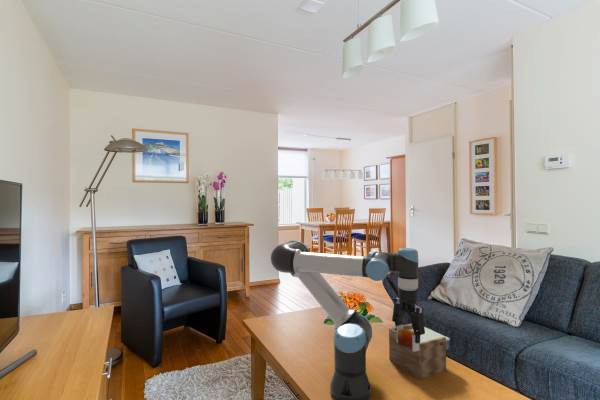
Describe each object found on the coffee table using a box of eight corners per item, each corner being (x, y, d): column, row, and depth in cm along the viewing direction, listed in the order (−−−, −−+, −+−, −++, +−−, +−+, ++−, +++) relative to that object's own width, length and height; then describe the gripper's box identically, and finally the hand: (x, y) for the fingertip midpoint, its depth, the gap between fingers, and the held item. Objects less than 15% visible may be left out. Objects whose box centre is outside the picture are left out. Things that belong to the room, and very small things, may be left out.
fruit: (394, 346, 124) (396, 325, 127) (397, 350, 130) (399, 329, 133) (416, 351, 120) (418, 329, 123) (418, 354, 126) (420, 333, 129)
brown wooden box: (420, 380, 128) (420, 345, 128) (388, 359, 146) (388, 328, 146) (447, 371, 134) (446, 338, 134) (413, 352, 152) (413, 322, 152)
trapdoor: (419, 358, 131) (418, 346, 131) (393, 343, 145) (393, 332, 145) (449, 349, 138) (449, 338, 138) (423, 336, 152) (422, 326, 152)
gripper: (436, 294, 119) (435, 355, 119) (397, 280, 138) (396, 334, 138) (420, 296, 116) (420, 359, 116) (383, 282, 135) (382, 337, 135)
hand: (407, 345), depth 127 cm, fingers closed on fruit, 8 cm apart
